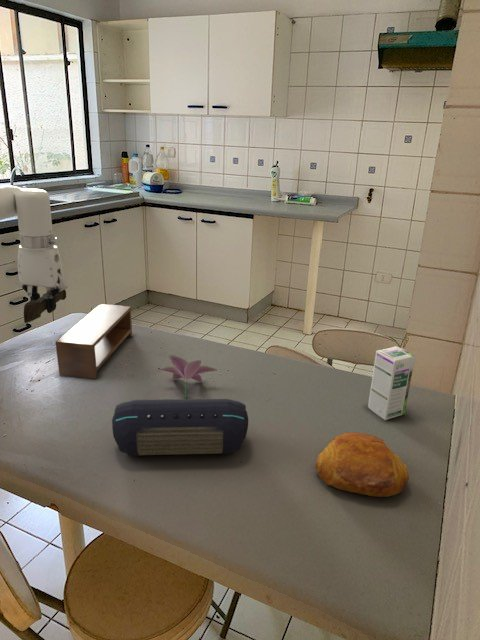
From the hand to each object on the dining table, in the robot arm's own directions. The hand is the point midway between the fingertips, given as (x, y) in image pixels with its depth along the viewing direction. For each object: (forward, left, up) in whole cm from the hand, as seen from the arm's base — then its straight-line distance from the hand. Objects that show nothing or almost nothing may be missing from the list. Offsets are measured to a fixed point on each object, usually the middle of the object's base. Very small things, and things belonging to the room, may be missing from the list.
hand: (44, 309), depth 121 cm
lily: (+42, -14, -11) cm, 45 cm away
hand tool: (+1, 0, 0) cm, 1 cm away
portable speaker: (+46, -36, -11) cm, 59 cm away
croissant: (+79, -37, -11) cm, 88 cm away
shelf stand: (+15, -1, -11) cm, 18 cm away
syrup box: (+87, -15, -11) cm, 89 cm away
